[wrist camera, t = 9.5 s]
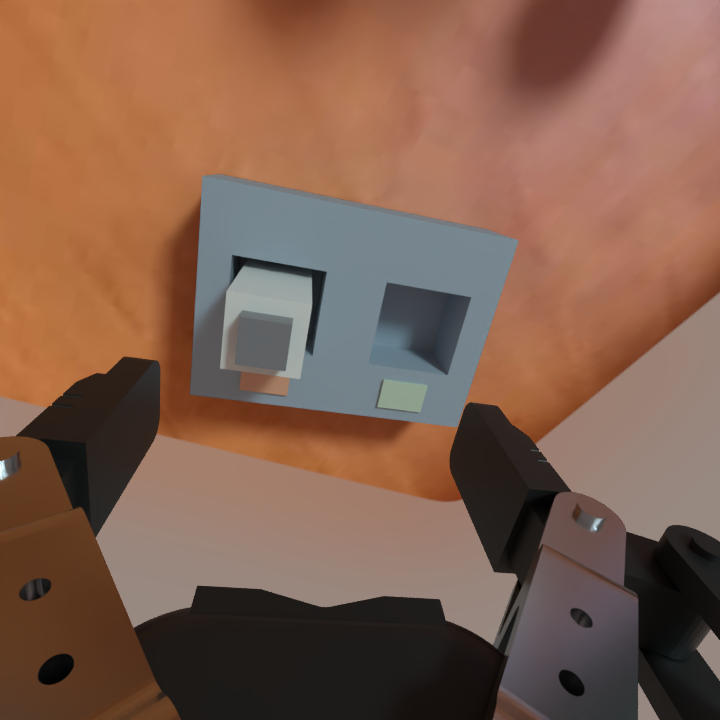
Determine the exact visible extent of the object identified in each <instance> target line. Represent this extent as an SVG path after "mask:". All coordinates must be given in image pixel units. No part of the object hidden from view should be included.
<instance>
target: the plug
mask: <svg viewBox="0 0 720 720" xmlns="http://www.w3.org/2000/svg"><path fill="white" fill-rule="evenodd" d="M311 310H312V269H309V268H303V267H298V266H292V265H286V264H281V263H275V262H270V261H264V260H258V259H253V258H249V259H248V260H247V262H246V263H245V265H244V266H243V267H242V269H241V270H240V272H239V273H238V275H237V276H236V278H235V279H234V281H233V282H232V284H231V285H230V287H229V288H228V290H227V291H226V303H225V315H224V327H223V339H222V351H221V362H220V369H227V370H235V371H242V372H250V373H257V374H265V375H272V376H280V377H288V378H295V379H300V377H301V371H302V365H303V359H304V353H305V347H306V340H307V334H308V328H309V322H310V316H311Z"/></svg>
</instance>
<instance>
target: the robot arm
mask: <svg viewBox="0 0 720 720" xmlns="http://www.w3.org/2000/svg"><path fill="white" fill-rule="evenodd" d="M159 418H160V365H159V362H158V361H155V360H148V359H140V358H132V357H123V358H122V359H121V360H120V361H119V362H118V363H117V364H116V365H115V366H114V367H113V368H112V369H111V370H110V371H109V372H107V373H106V374H100V373H96V374H94V375H91V376H89V377H87V378H84V379H82V380H80V381H77V382H76V383H75V384H73V385H72V386H71V387H70V388H69V389H68V390H67V391H66V392H64V393H63V396H60V397H59V398H58V399H57V400H56V401H54V402H53V403H52V406H49V407H48V408H47V409H46V410H44V412H42V413H41V414H40V415H39V416H38V417H36V418H35V419H34V420H33V421H32V422H31V423H30V424H29V425H28V426H26V427H25V428H24V429H23V430H22V431H21V432H20V433H19V434H17V435H16V436H11V437H0V720H638V683H639V684H640V686H641V688H642V689H643V691H644V693H645V695H646V697H647V698H648V700H649V702H650V704H651V705H652V707H653V709H654V711H655V712H656V714H657V716H658V718H659V719H660V720H720V681H719V679H718V678H717V677H716V675H715V674H714V673H713V671H712V670H711V669H710V667H709V666H708V664H707V663H706V662H705V660H704V659H703V658H702V656H701V655H700V653H699V652H698V651H697V649H696V648H697V647H698V646H699V644H700V643H701V642H702V640H703V639H704V638H705V636H706V635H707V634H708V632H709V631H710V629H711V630H712V631H713V632H714V633H715V635H716V636H717V637H718V639H719V640H720V542H719V541H718V540H716V539H714V538H712V537H711V536H709V535H707V534H705V533H703V532H701V531H698V530H696V529H693V528H690V527H686V526H681V525H672V526H669V527H668V528H667V529H666V531H665V532H664V534H663V536H662V537H661V539H660V540H659V542H657V541H654V540H651V539H648V538H645V537H642V536H638V535H635V534H632V533H629V532H626V528H625V525H624V524H623V522H622V520H621V519H620V518H619V517H618V516H617V515H616V514H615V513H614V512H613V511H612V510H611V509H609V508H608V507H607V506H605V505H604V504H602V503H600V502H599V501H597V500H595V499H593V498H591V497H588V496H586V495H583V494H579V493H575V492H571V490H570V489H569V488H568V487H567V485H566V484H565V483H564V481H563V480H562V479H561V477H560V476H559V475H558V474H557V472H556V471H555V470H554V468H552V466H551V465H550V463H548V462H547V459H546V458H545V457H544V456H543V454H542V453H541V452H539V449H538V448H537V447H536V445H535V444H534V443H533V441H532V440H531V439H530V437H528V436H527V435H526V434H524V433H523V432H522V431H520V430H519V429H518V428H516V427H515V426H514V425H512V424H511V423H510V422H509V420H508V419H507V418H506V416H505V415H504V414H503V412H502V411H501V410H500V408H499V407H498V406H495V405H487V404H479V403H472V402H470V403H468V404H467V405H466V407H465V409H464V412H463V415H462V418H461V421H460V424H459V427H458V430H457V433H456V436H455V439H454V442H453V445H452V449H451V453H450V470H451V473H452V476H453V478H454V480H455V483H456V485H457V487H458V490H459V492H460V494H461V497H462V499H463V501H464V503H465V506H466V508H467V510H468V513H469V515H470V517H471V520H472V522H473V524H474V527H475V529H476V531H477V534H478V536H479V538H480V540H481V543H482V545H483V547H484V550H485V552H486V554H487V557H488V559H489V561H490V564H491V566H492V568H493V571H494V572H499V573H514V574H516V576H517V578H518V580H517V582H516V584H515V586H514V589H513V591H512V594H511V596H510V600H509V602H508V605H507V607H506V610H505V613H504V616H503V619H502V622H501V624H500V627H499V630H498V633H497V636H496V639H495V642H494V644H493V645H492V644H490V643H489V642H487V641H486V640H484V639H483V638H481V637H480V636H478V635H476V634H474V633H473V632H471V631H469V630H467V629H465V628H463V627H461V626H458V625H456V624H454V623H451V622H448V621H446V620H445V616H444V613H443V609H442V605H441V602H440V600H439V599H424V598H407V597H389V596H388V597H387V596H383V597H378V598H372V599H368V600H363V601H357V602H352V603H347V604H342V605H338V606H332V607H319V606H315V605H312V604H308V603H305V602H302V601H298V600H295V599H291V598H288V597H285V596H282V595H278V594H275V593H272V592H268V591H265V590H262V589H247V588H230V587H212V586H197V589H196V592H195V596H194V599H193V603H192V606H191V607H190V608H185V609H180V610H176V611H173V612H170V613H166V614H163V615H161V616H158V617H156V618H153V619H151V620H148V621H146V622H144V623H142V624H140V625H138V626H136V627H134V628H133V626H132V624H131V621H130V619H129V616H128V614H127V612H126V609H125V607H124V605H123V602H122V600H121V598H120V595H119V593H118V590H117V588H116V586H115V583H114V581H113V578H112V576H111V574H110V571H109V569H108V567H107V564H106V562H105V560H104V557H103V555H102V552H101V550H100V548H99V545H98V543H97V540H96V536H97V534H98V533H99V531H100V529H101V528H102V526H103V524H104V523H105V521H106V519H107V518H108V516H109V514H110V513H111V511H112V509H113V508H114V506H115V504H116V503H117V501H118V499H119V498H120V496H121V494H122V493H123V491H124V489H125V488H126V486H127V484H128V483H129V481H130V479H131V478H132V476H133V474H134V473H135V471H136V469H137V468H138V466H139V464H140V463H141V461H142V459H143V458H144V456H145V454H146V453H147V451H148V449H149V448H150V446H151V444H152V443H153V441H154V439H155V436H156V433H157V430H158V425H159Z"/></svg>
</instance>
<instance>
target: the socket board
mask: <svg viewBox="0 0 720 720" xmlns="http://www.w3.org/2000/svg"><path fill="white" fill-rule="evenodd" d="M517 244H518V240H516V239H513V238H510V237H507V236H504V235H501V234H499V233H496V232H493V231H490V230H487V229H482V228H477V227H472V226H468V225H463V224H458V223H453V222H448V221H443V220H439V219H434V218H429V217H424V216H419V215H415V214H410V213H405V212H400V211H395V210H390V209H386V208H381V207H376V206H371V205H366V204H361V203H357V202H352V201H347V200H342V199H337V198H332V197H328V196H323V195H318V194H313V193H308V192H303V191H299V190H294V189H289V188H284V187H279V186H274V185H270V184H265V183H260V182H255V181H250V180H246V179H241V178H236V177H231V176H226V175H221V174H218V175H205V176H203V177H202V194H201V212H200V229H199V246H198V264H197V281H196V298H195V316H194V333H193V350H192V368H191V385H190V395H196V396H205V397H213V398H221V399H229V400H238V401H246V402H254V403H262V404H270V405H279V406H287V407H295V408H303V409H312V410H320V411H328V412H336V413H345V414H353V415H361V416H369V417H378V418H386V419H394V420H402V421H411V422H419V423H427V424H435V425H444V426H452V427H457V426H458V422H459V419H460V416H461V413H462V410H463V407H464V404H465V401H466V398H467V395H468V392H469V389H470V386H471V383H472V380H473V377H474V374H475V371H476V368H477V365H478V362H479V359H480V356H481V353H482V350H483V347H484V344H485V341H486V338H487V335H488V332H489V329H490V326H491V323H492V320H493V317H494V314H495V310H496V307H497V304H498V301H499V298H500V295H501V292H502V289H503V286H504V283H505V280H506V277H507V274H508V271H509V268H510V265H511V262H512V259H513V256H514V253H515V250H516V247H517ZM249 258H253V259H258V260H264V261H270V262H275V263H281V264H286V265H292V266H298V267H303V268H309V269H312V310H311V316H310V322H309V328H308V334H307V340H306V347H305V353H304V359H303V365H302V371H301V377H300V379H295V378H288V377H280V376H272V375H265V374H257V373H250V372H242V371H235V370H227V369H220V362H221V351H222V339H223V327H224V315H225V303H226V291H227V290H228V288H229V287H230V285H231V284H232V282H233V281H234V279H235V278H236V276H237V275H238V273H239V272H240V270H241V269H242V267H243V266H244V265H245V263H246V262H247V260H248V259H249Z"/></svg>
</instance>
